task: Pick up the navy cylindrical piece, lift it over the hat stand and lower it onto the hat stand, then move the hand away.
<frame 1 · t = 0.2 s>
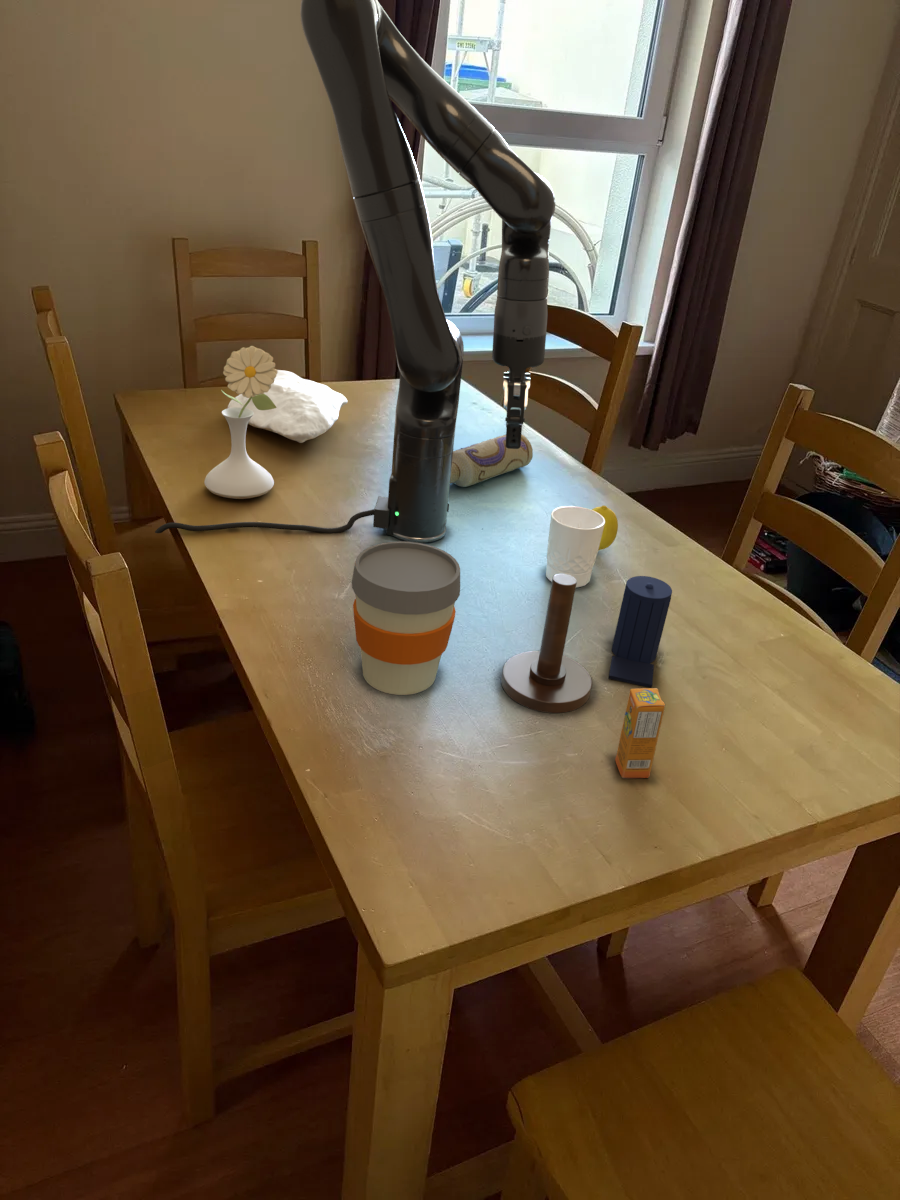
hand: (512, 438, 135), 17 cm above the table, tool pointing down, fingers open, 8 cm apart
reusable coffee cup: (399, 674, 109), on the table
flower in vase: (244, 493, 150), on the table
crumpled cloth: (294, 427, 179), on the table
lemon: (595, 552, 143), on the table
decorative bottle: (472, 478, 165), on the table
white cup: (567, 578, 135), on the table
hat stand: (545, 685, 109), on the table
navy cylindrical piece: (633, 652, 118), on the table
supplement box: (630, 770, 97), on the table
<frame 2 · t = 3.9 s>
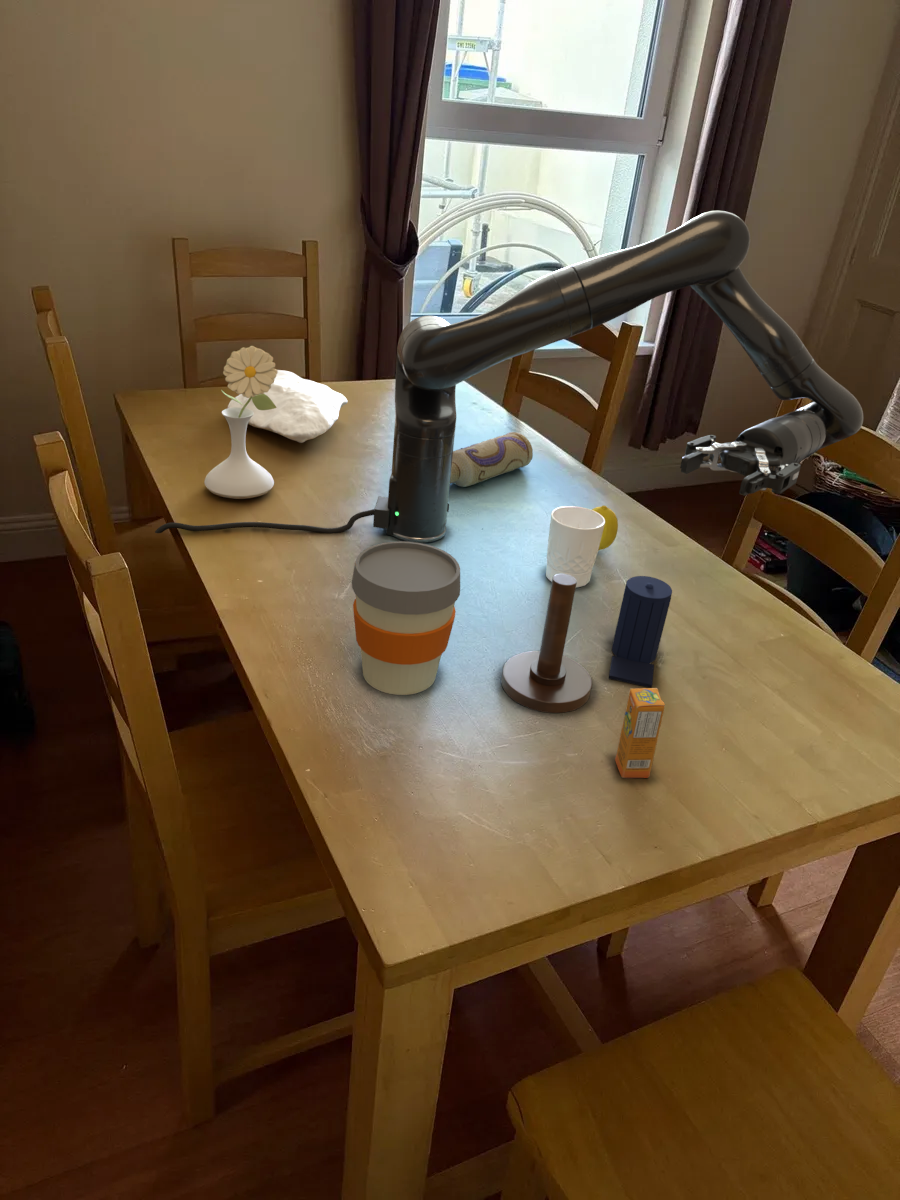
hand: (713, 476, 114), 22 cm above the table, tool horizontal, fingers open, 8 cm apart
nothing on the table moved.
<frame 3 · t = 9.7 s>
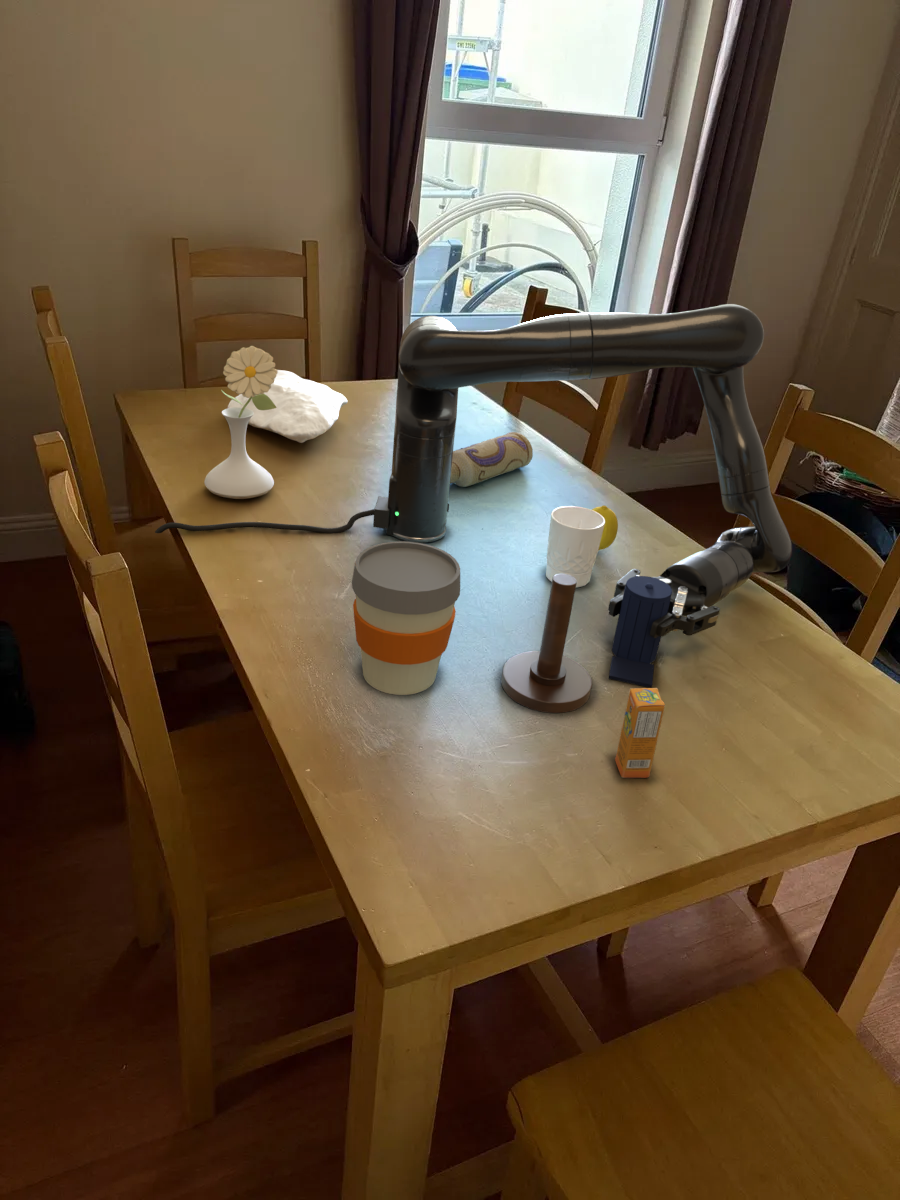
hand: (632, 619, 113), 6 cm above the table, tool horizontal, fingers closed on navy cylindrical piece, 5 cm apart
navy cylindrical piece: (633, 652, 118), on the table, touching gripper
everything else where it was.
when the fingers open (12 cm above the table, at t = 19.0 s): navy cylindrical piece stays where it is, resting on hat stand.
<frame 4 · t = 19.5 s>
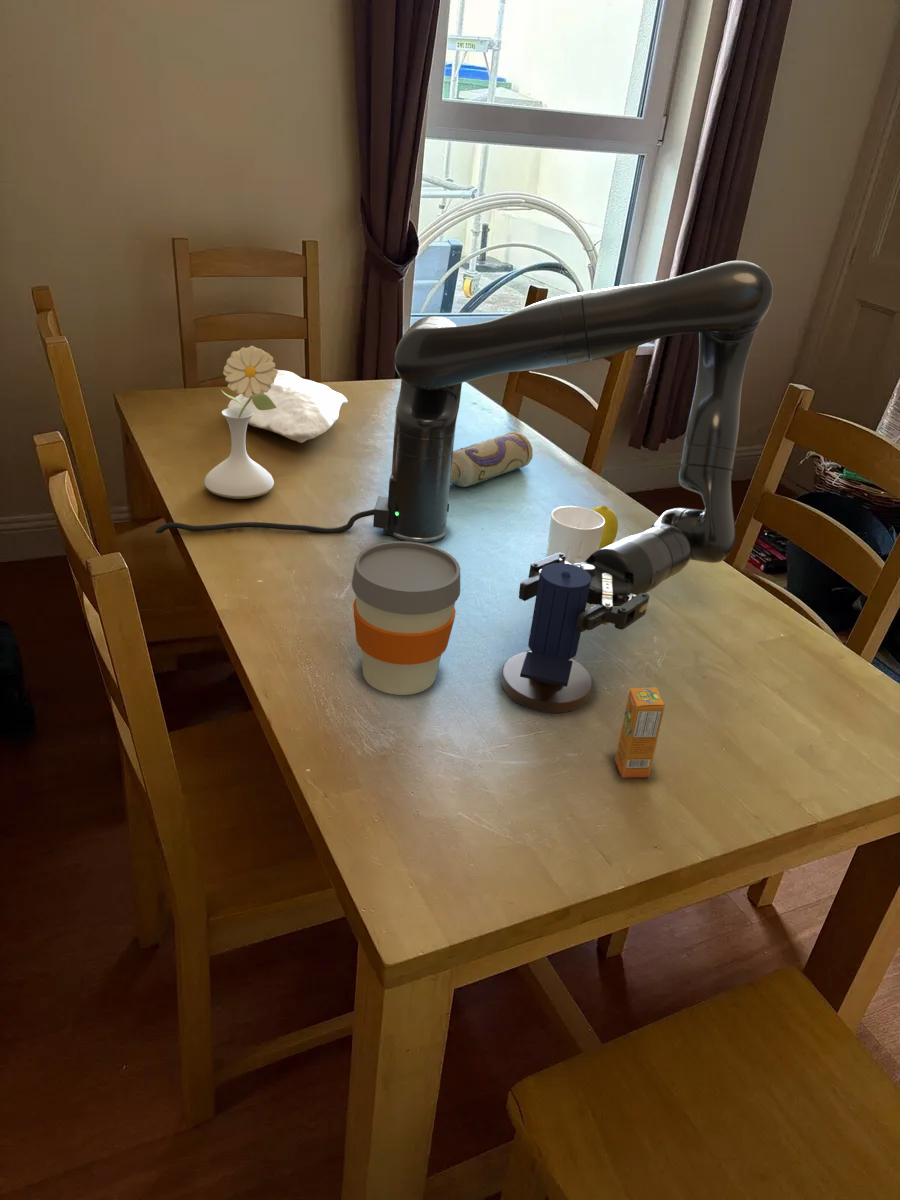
hand: (550, 608, 102), 12 cm above the table, tool horizontal, fingers open, 8 cm apart
navy cylindrical piece: (552, 647, 107), point 6 cm above the table, touching hat stand
everything else where it was.
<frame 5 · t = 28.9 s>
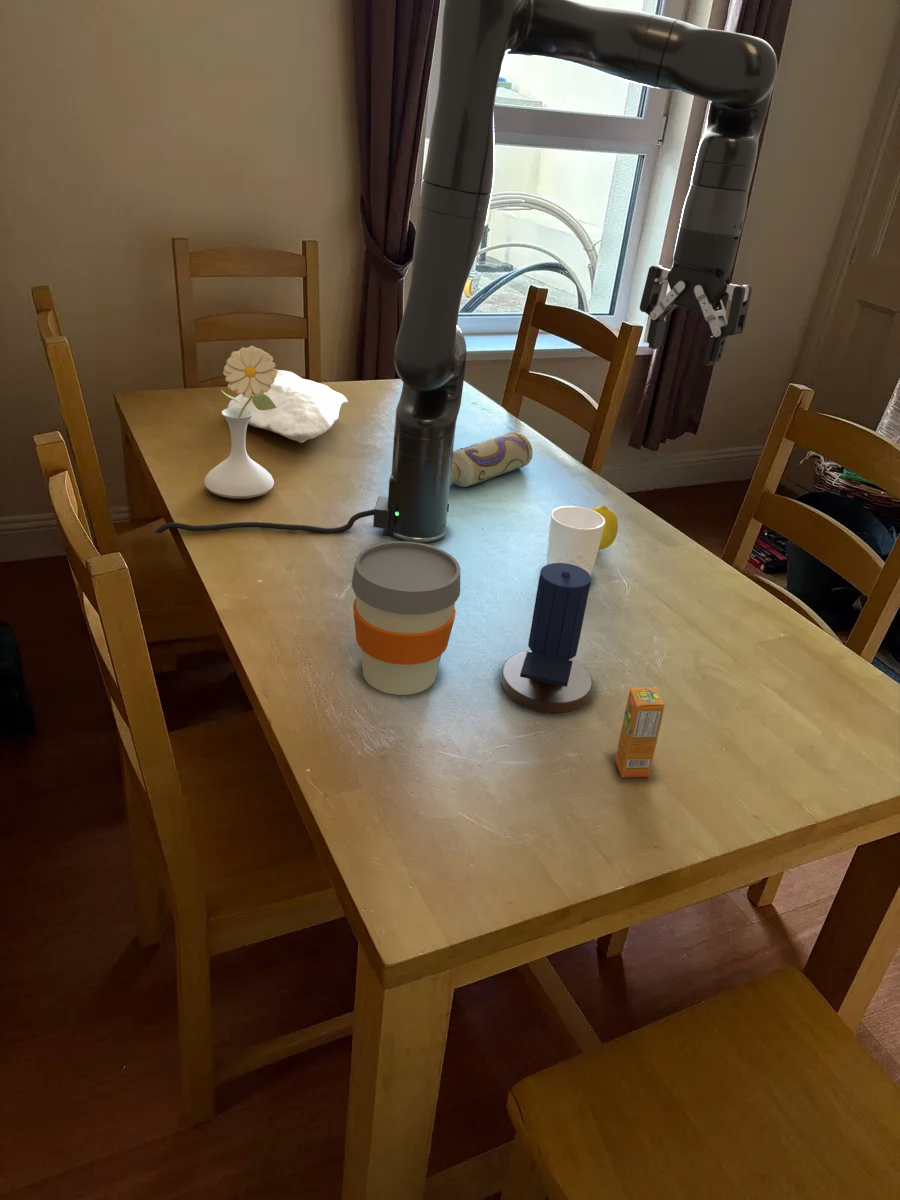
hand: (681, 356, 119), 34 cm above the table, tool pointing down, fingers open, 8 cm apart
nothing on the table moved.
at the end: navy cylindrical piece 0.0 cm off-centre on the hat stand, point 5.6 cm above the hat stand's base; navy cylindrical piece touching hat stand; the gripper is holding nothing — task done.
